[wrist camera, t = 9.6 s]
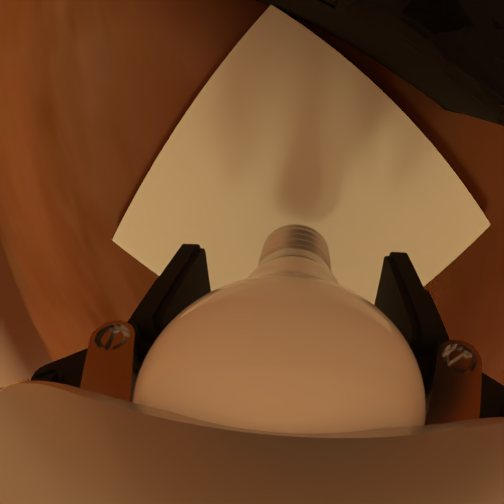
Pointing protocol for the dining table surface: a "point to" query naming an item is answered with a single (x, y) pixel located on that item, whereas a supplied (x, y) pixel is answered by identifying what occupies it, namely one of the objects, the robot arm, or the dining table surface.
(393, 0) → the film camera
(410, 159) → the felt mat
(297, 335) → the lightbulb
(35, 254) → the dining table surface
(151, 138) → the dining table surface
